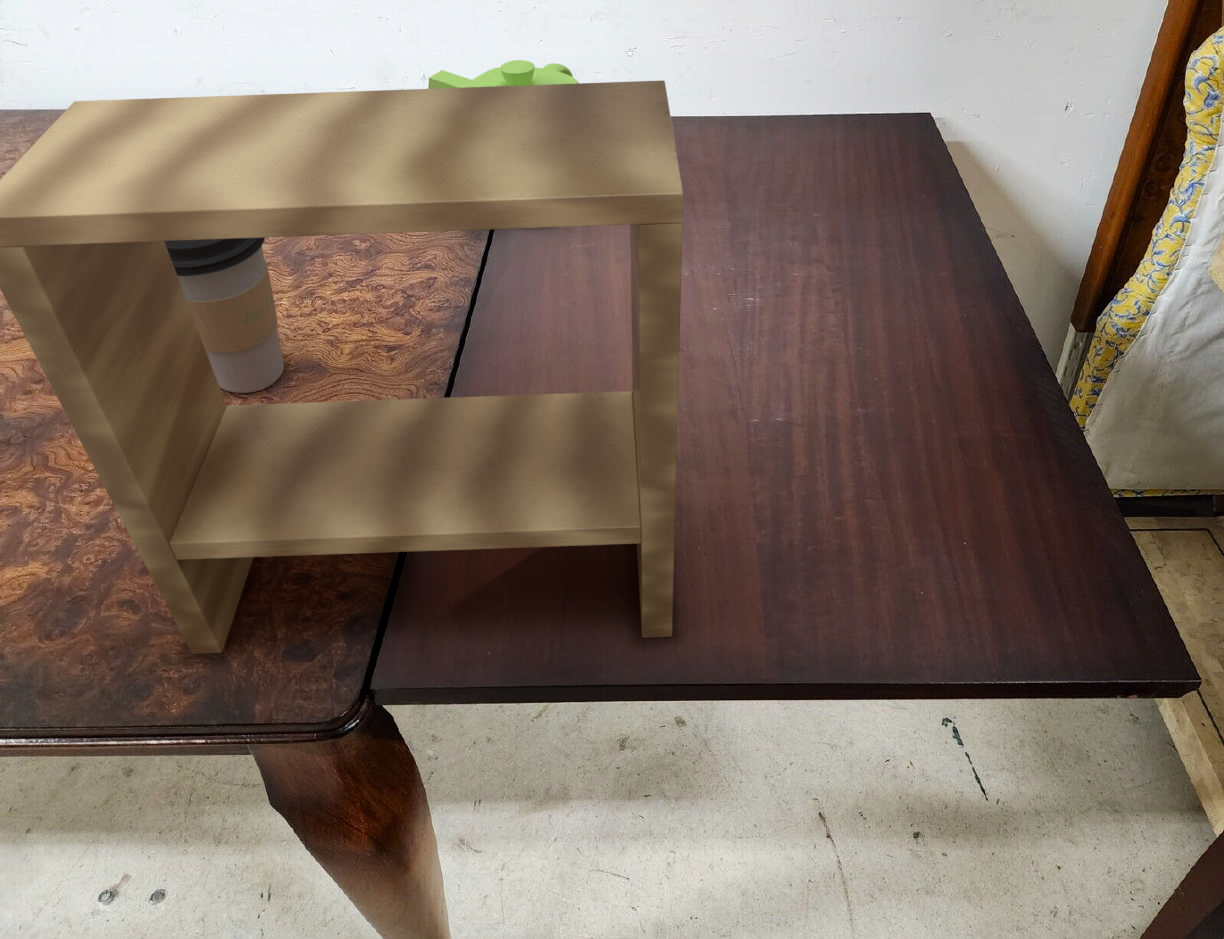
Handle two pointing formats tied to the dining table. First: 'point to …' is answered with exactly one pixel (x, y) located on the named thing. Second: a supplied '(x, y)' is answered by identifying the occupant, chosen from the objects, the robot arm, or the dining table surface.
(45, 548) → the dining table surface
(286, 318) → the dining table surface
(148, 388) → the shoe shelf
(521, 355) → the dining table surface
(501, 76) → the teapot
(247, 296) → the coffee cup
